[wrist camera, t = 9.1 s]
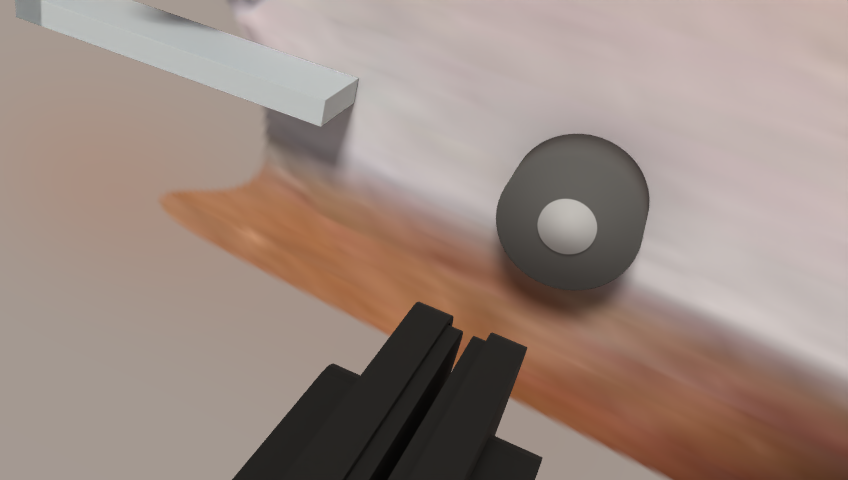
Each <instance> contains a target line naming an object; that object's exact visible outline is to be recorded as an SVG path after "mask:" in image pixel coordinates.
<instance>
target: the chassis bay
mask: <svg viewBox="0 0 848 480" xmlns="http://www.w3.org/2000/svg"><path fill="white" fill-rule="evenodd" d="M15 6H16V17H18V18H20V19H23V20H26V21H29V22H31V23H34V24H37V25H40V26H43V27H46V28H48V29H51V30H54V31H57V32H60V33H62V34H65V35H68V36H71V37H73V38H76V39H79V40H81V41H84V42H87V43H90V44H93V45H95V46H98V47H101V48H104V49H107V50H109V51H112V52H115V53H118V54H120V55H123V56H126V57H129V58H131V59H134V60H137V61H140V62H143V63H145V64H148V65H151V66H154V67H156V68H159V69H162V70H165V71H168V72H170V73H173V74H176V75H179V76H182V77H184V78H187V79H190V80H193V81H195V82H198V83H201V84H204V85H206V86H209V87H212V88H215V89H217V90H221V91H223V92H226V93H229V94H231V95H234V96H237V97H240V98H243V99H245V100H248V101H251V102H254V103H256V104H259V105H262V106H265V107H267V108H270V109H273V110H276V111H279V112H281V113H284V114H287V115H290V116H292V117H295V118H298V119H301V120H304V121H306V122H309V123H312V124H315V125H317V126H320V127H321V126H323V125H324V124H325V123H327V122H328V121H329V120H331V119H332V118H334V117H335V116H336V115H338V114H339V113H341V112H342V111H343V110H345V109H346V108H348V107H349V106H350V105H352V104H353V103H354V100H355V95H356V89H357V84H358V79H359V78H356V77H353V76H350V75H348V74H345V73H342V72H339V71H336V70H333V69H330V68H327V67H324V66H321V65H319V64H316V63H313V62H310V61H307V60H304V59H301V58H298V57H295V56H293V55H290V54H287V53H284V52H281V51H278V50H275V49H272V48H269V47H266V46H264V45H261V44H258V43H255V42H252V41H249V40H246V39H243V38H240V37H237V36H234V35H232V34H229V33H226V32H223V31H220V30H217V29H214V28H211V27H208V26H205V25H203V24H200V23H197V22H194V21H191V20H188V19H185V18H182V17H180V16H177V15H173V14H171V13H167V12H165V11H162V10H159V9H156V8H153V7H150V6H147V5H145V4H142V3H139V2H136V1H133V0H15Z"/></svg>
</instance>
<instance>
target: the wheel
mask: <svg viewBox="0 0 848 480" xmlns="http://www.w3.org/2000/svg"><path fill="white" fill-rule="evenodd" d="M648 210H649V191H648V187H647V183H646V180H645V177H644V175H643V173H642V171H641V170H640V168H639V166H638V165H637V163H636V162H635V161H634V160H633V158H632V157H631V156H630V155H628V154H627V153H626V152H625V151H624V150H623V149H621V148H620V147H619V146H617V145H615V144H613V143H612V142H610V141H607V140H605V139H603V138H600V137H596V136H592V135H586V134H568V135H561V136H557V137H554V138H551V139H549V140H546V141H544V142H543V143H541V144H539V145H538V146H536V147H535V148H534V149H532V150H531V151H530V152H529V153H528V154H527V155H526V156H525V158H524V159H523V160H522V161H521V163H520V164H519V166H518V168H517V169H516V171H515V172H514V174H513V175H512V177H511V179H510V180H509V182H508V183H507V185H506V187H505V188H504V190H503V192H502V194H501V196H500V199H499V202H498V206H497V212H496V225H497V231H498V235H499V238H500V241H501V244H502V246H503V248H504V250H505V252H506V253H507V255H508V256H509V258H510V259H511V260H512V261H513V263H514V264H515V265H516V266H517V267H518V268H519V269H520V270H521V271H523V272H524V273H525V274H527V275H528V276H529V277H531V278H533V279H534V280H536V281H538V282H540V283H543V284H545V285H548V286H551V287H554V288H558V289H564V290H586V289H592V288H596V287H599V286H602V285H604V284H607V283H609V282H611V281H612V280H614V279H616V278H617V277H618V276H620V275H621V274H622V273H623V272H624V271H625V270H626V269H627V268H628V267H629V266H630V265H631V263H632V262H633V261H634V259H635V257H636V255H637V253H638V251H639V248H640V246H641V242H642V238H643V233H644V229H645V224H646V220H647V215H648Z"/></svg>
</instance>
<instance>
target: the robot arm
mask: <svg viewBox="0 0 848 480" xmlns="http://www.w3.org/2000/svg"><path fill="white" fill-rule="evenodd" d="M452 323H453V316H452V315H449V314H447V313H445V312H442V311H440V310H438V309H435V308H433V307H430V306H428V305H426V304H423V303H421V302H417V303H416V304H415V305H414V306H413V307H412V308H411V310H410V311H409V312H408V314H407V315H406V316H405V318H404V319H403V320H402V322H401V323H400V324H399V326H398V327H397V328H396V330H395V331H394V332H393V333H392V335H391V336H390V337H389V339H388V340H387V342H386V343H385V344H384V345H383V347H382V348H381V349H380V351H379V352H378V354H377V355H376V356H375V357H374V359H373V360H372V361H371V362H370V364H369V365H368V366H367V368H366V369H365V371H364V372H363V373H362V374H361V376H360V375H358V374H356V373H353V372H351V371H349V370H346V369H344V368H342V367H340V366H338V365H335V364H331V365H329V366H328V367H327V368H326V369H325V370H324V371H323V372H322V373H321V374H320V375H319V376H318V378H317V379H316V380H315V381H314V382H313V384H312V385H311V386H310V387H309V388H308V390H307V391H306V392H305V393H304V394H303V396H302V397H301V398H300V399H299V401H297V403H296V404H295V405H294V406H293V408H292V409H291V410H290V411H289V412H288V413H287V415H286V416H285V417H284V418H283V419H282V421H281V422H280V423H279V424H278V425H277V427H276V428H275V429H274V430H273V431H272V433H271V434H270V435H269V436H268V437H267V439H266V440H265V441H264V442H263V443H262V445H261V446H260V447H259V448H258V449H257V451H256V452H255V453H254V454H253V455H252V457H251V458H250V459H249V460H248V461H247V463H246V464H245V465H244V466H243V467H242V469H241V470H240V471H239V472H238V473H237V474H236V476H235V477H234V478H233V479H232V480H535V478H536V475H537V472H538V469H539V467H540V464H541V461H542V457H540V456H538V455H536V454H533V453H531V452H529V451H527V450H525V449H522V448H520V447H518V446H516V445H513V444H511V443H509V442H507V441H504V440H502V439H500V438H498V437H496V436H495V434H496V431H497V428H498V426H499V423H500V420H501V418H502V415H503V412H504V410H505V407H506V404H507V402H508V399H509V396H510V394H511V391H512V388H513V386H514V383H515V380H516V378H517V375H518V372H519V370H520V367H521V364H522V362H523V359H524V356H525V353H526V350H527V347H525V346H523V345H521V344H518V343H516V342H513V341H511V340H509V339H506V338H504V337H502V336H499V335H497V334H494V333H490V335H489V337H488V338H487V340H486V341H485V340H482V339H480V338H478V337H475V336H473V337H472V339H471V340H470V342H469V344H468V345H467V347H466V349H465V350H464V352H463V354H462V355H461V357H460V359H459V360H458V362H457V364H456V365H455V367H454V369H453V371H452V367H453V364H454V361H455V358H456V355H457V352H458V349H459V345H460V342H461V339H462V335H463V331H461V330H459V329H456V328H454V327H452ZM451 371H452V372H451Z"/></svg>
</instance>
